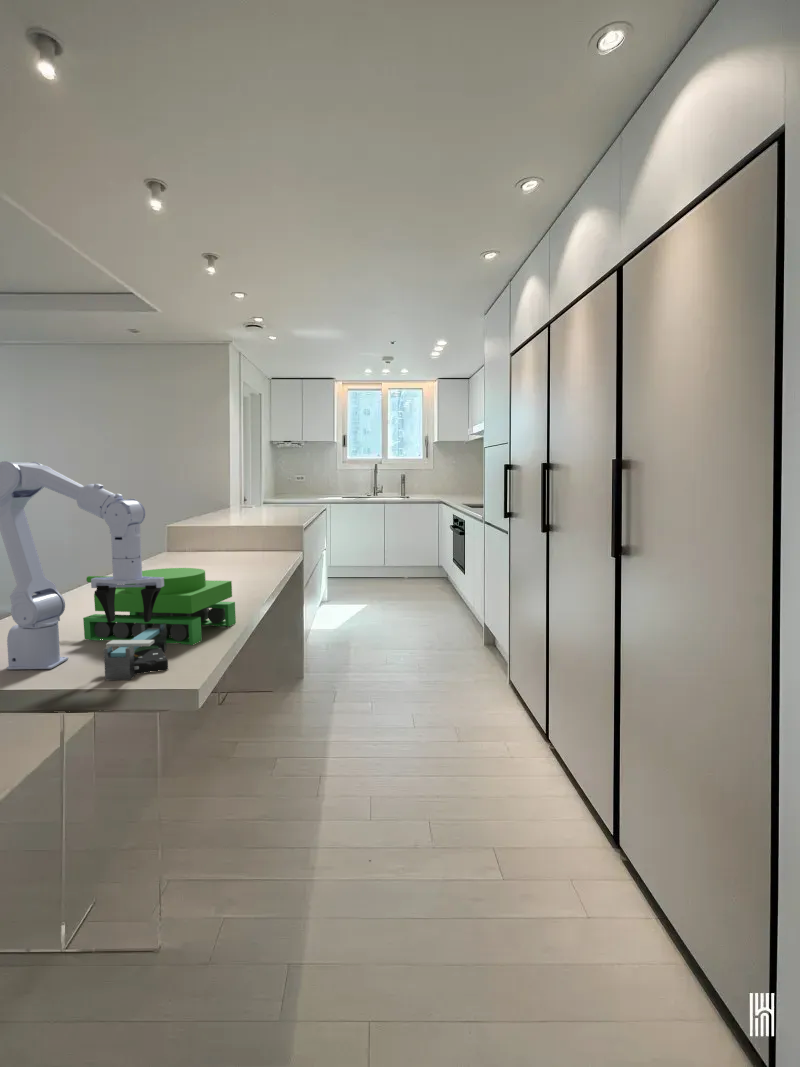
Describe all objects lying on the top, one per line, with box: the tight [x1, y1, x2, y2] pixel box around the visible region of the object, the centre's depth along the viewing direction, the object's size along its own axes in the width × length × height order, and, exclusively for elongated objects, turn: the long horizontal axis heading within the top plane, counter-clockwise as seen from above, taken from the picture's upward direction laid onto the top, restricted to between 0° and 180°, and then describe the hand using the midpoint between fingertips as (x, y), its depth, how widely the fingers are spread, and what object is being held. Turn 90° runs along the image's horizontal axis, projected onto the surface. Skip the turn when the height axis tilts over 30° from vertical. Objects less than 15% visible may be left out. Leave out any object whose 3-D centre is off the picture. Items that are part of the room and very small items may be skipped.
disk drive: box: [114, 644, 169, 675], centre depth 145 cm, size 10×3×15 cm
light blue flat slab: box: [105, 628, 161, 657], centre depth 144 cm, size 9×21×2 cm, turn 1°
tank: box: [82, 567, 237, 646], centre depth 175 cm, size 24×35×16 cm
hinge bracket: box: [141, 623, 168, 653], centre depth 154 cm, size 5×2×7 cm, turn 91°
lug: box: [103, 646, 136, 681], centre depth 135 cm, size 5×2×6 cm, turn 91°
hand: (129, 621), depth 140 cm, fingers open, 7 cm apart
